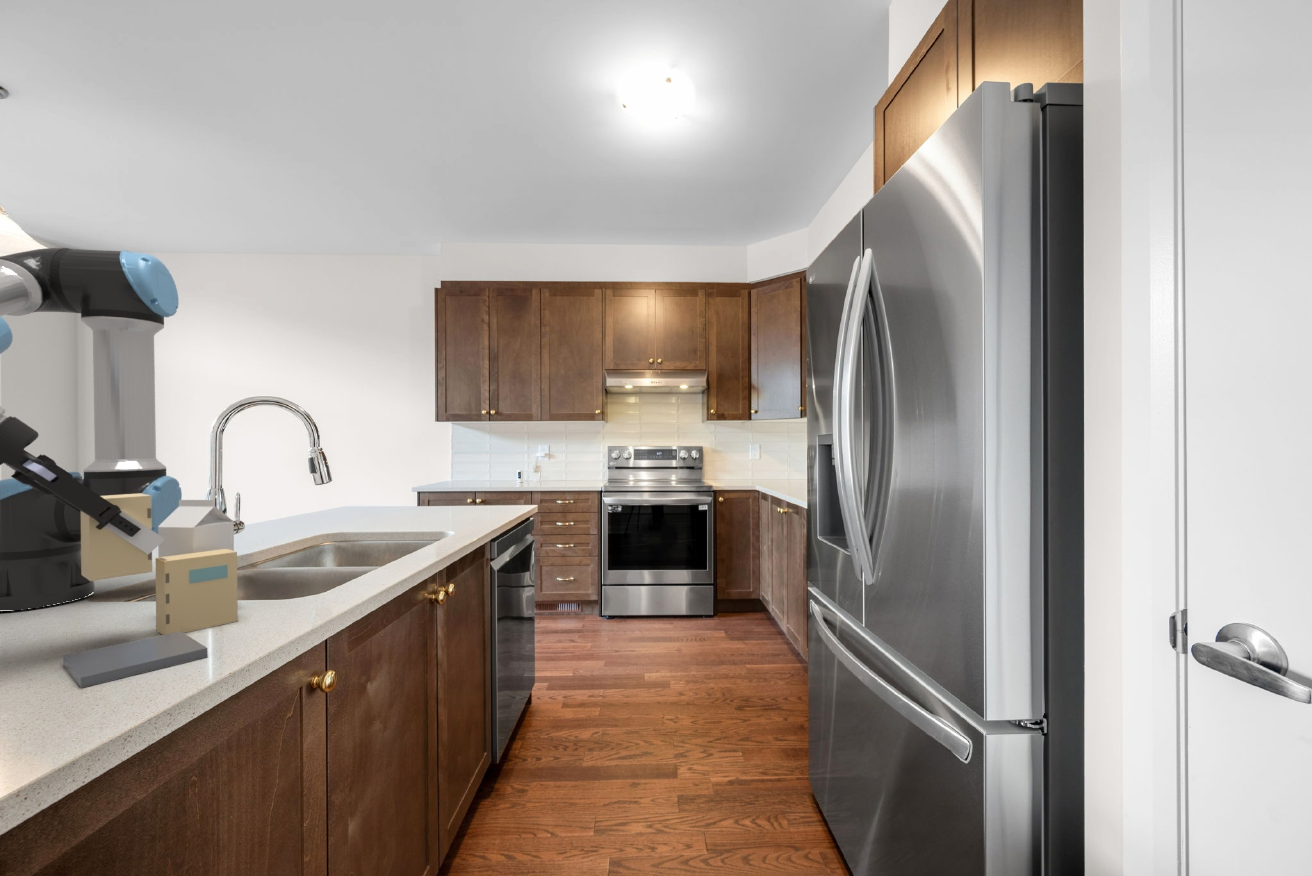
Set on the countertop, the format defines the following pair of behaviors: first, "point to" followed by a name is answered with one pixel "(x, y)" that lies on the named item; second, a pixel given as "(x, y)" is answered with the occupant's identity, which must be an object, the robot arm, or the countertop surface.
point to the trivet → (132, 658)
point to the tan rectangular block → (115, 542)
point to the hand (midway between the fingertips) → (149, 543)
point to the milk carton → (195, 529)
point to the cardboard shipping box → (196, 591)
